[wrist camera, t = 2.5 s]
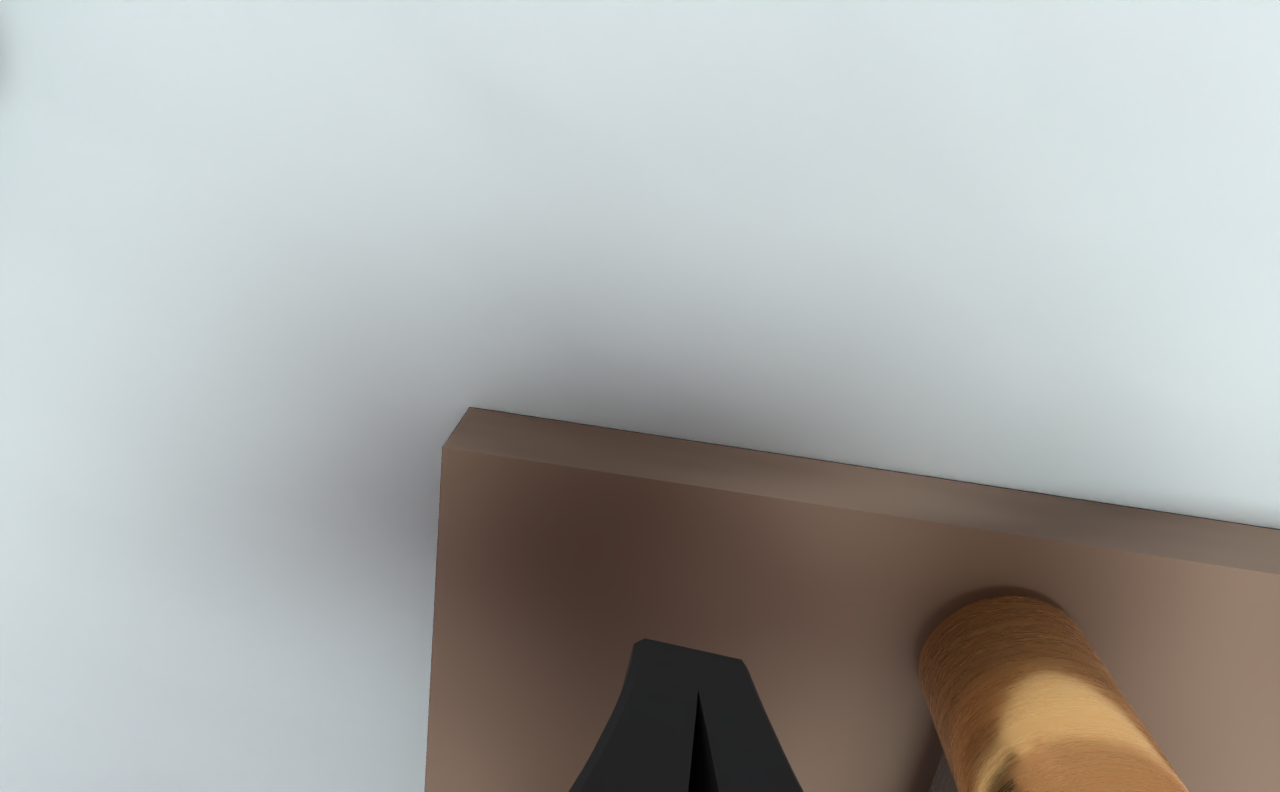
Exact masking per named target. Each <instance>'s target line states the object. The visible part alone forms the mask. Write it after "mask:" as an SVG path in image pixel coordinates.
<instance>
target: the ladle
mask: <svg viewBox="0 0 1280 792" xmlns="http://www.w3.org/2000/svg"><path fill="white" fill-rule="evenodd" d="M918 676H919V681H920V685H921V688H922V691H923V694H924V697H925V700H926V702H927V705H928V708H929V711H930V714H931V717H932V719H933V722H934V725H935V728H936V731H937V734H938V736H939V739H940V742H941V745H942V748H943V753H942V756H941V759H940V762H939V765H938V768H937V770H936V773H935V776H934V779H933V782H932V785H931V788H930V790H929V792H1189V791H1188V789H1187V788H1186V786H1185V785H1184V783H1183V782H1182V780H1181V779H1180V777H1179V776H1178V774H1177V773H1176V771H1175V770H1174V768H1173V767H1172V765H1171V764H1170V762H1169V761H1168V759H1167V758H1166V756H1165V755H1164V754H1163V752H1162V751H1161V749H1160V748H1159V746H1158V745H1157V743H1156V742H1155V740H1154V739H1153V737H1152V736H1151V734H1150V733H1149V731H1148V730H1147V728H1146V727H1145V725H1144V724H1143V722H1142V721H1141V719H1140V718H1139V716H1138V715H1137V713H1136V712H1135V710H1134V709H1133V707H1132V706H1131V704H1130V703H1129V701H1128V700H1127V698H1126V697H1125V695H1124V694H1123V692H1122V691H1121V689H1120V688H1119V686H1118V685H1117V683H1116V682H1115V680H1114V679H1113V677H1112V676H1111V674H1110V673H1109V671H1108V670H1107V668H1106V667H1105V666H1104V664H1103V663H1102V661H1101V660H1100V658H1099V657H1098V655H1097V654H1096V652H1095V651H1094V649H1093V648H1092V646H1091V645H1090V643H1089V642H1088V640H1087V639H1086V637H1085V636H1084V634H1083V633H1082V631H1081V630H1080V628H1079V627H1078V626H1077V624H1076V623H1075V622H1074V621H1073V619H1072V618H1070V617H1069V616H1068V615H1067V614H1066V613H1065V612H1063V611H1062V610H1060V609H1059V608H1057V607H1055V606H1053V605H1051V604H1049V603H1046V602H1044V601H1041V600H1038V599H1033V598H1028V597H1020V596H1002V597H993V598H989V599H984V600H980V601H977V602H974V603H971V604H969V605H967V606H965V607H963V608H960V609H959V610H957V611H955V612H954V613H952V614H950V615H949V616H948V617H947V618H945V619H944V620H943V621H942V622H941V623H940V624H939V625H938V626H937V627H936V628H935V629H934V630H933V631H932V632H931V634H930V635H929V636H928V638H927V640H926V642H925V643H924V645H923V648H922V650H921V653H920V657H919V662H918Z"/></svg>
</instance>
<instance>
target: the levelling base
mask: <svg viewBox="0 0 1280 792" xmlns="http://www.w3.org/2000/svg"><path fill="white" fill-rule="evenodd" d="M1002 596H1020V597H1028V598H1033V599H1038V600H1041V601H1044V602H1046V603H1049V604H1051V605H1053V606H1055V607H1057V608H1059V609H1060V610H1062V611H1063V612H1065V613H1066V614H1067V615H1068V616H1069V617H1070V618H1072V619H1073V621H1074V622H1075V623H1076V624H1077V626H1078V627H1079V628H1080V630H1081V631H1082V633H1083V634H1084V636H1085V637H1086V639H1087V640H1088V642H1089V643H1090V645H1091V646H1092V648H1093V649H1094V651H1095V652H1096V654H1097V655H1098V657H1099V658H1100V660H1101V661H1102V663H1103V664H1104V666H1105V667H1106V668H1107V670H1108V671H1109V673H1110V674H1111V676H1112V677H1113V679H1114V680H1115V682H1116V683H1117V685H1118V686H1119V688H1120V689H1121V691H1122V692H1123V694H1124V695H1125V697H1126V698H1127V700H1128V701H1129V703H1130V704H1131V706H1132V707H1133V709H1134V710H1135V712H1136V713H1137V715H1138V716H1139V718H1140V719H1141V721H1142V722H1143V724H1144V725H1145V727H1146V728H1147V730H1148V731H1149V733H1150V734H1151V736H1152V737H1153V739H1154V740H1155V742H1156V743H1157V745H1158V746H1159V748H1160V749H1161V751H1162V752H1163V754H1164V755H1165V756H1166V758H1167V759H1168V761H1169V762H1170V764H1171V765H1172V767H1173V768H1174V770H1175V771H1176V773H1177V774H1178V776H1179V777H1180V779H1181V780H1182V782H1183V783H1184V785H1185V786H1186V788H1187V789H1188V791H1189V792H1280V530H1276V529H1269V528H1263V527H1256V526H1249V525H1243V524H1236V523H1230V522H1223V521H1216V520H1210V519H1203V518H1197V517H1190V516H1183V515H1177V514H1170V513H1164V512H1157V511H1150V510H1144V509H1137V508H1131V507H1124V506H1117V505H1111V504H1104V503H1098V502H1091V501H1084V500H1078V499H1071V498H1065V497H1058V496H1051V495H1045V494H1038V493H1032V492H1025V491H1018V490H1012V489H1005V488H998V487H992V486H985V485H979V484H972V483H965V482H959V481H952V480H946V479H939V478H932V477H926V476H919V475H913V474H906V473H899V472H893V471H886V470H880V469H873V468H866V467H860V466H853V465H847V464H840V463H833V462H827V461H820V460H814V459H807V458H800V457H794V456H787V455H781V454H774V453H767V452H761V451H754V450H748V449H741V448H734V447H728V446H721V445H715V444H708V443H701V442H695V441H688V440H682V439H675V438H668V437H662V436H655V435H649V434H642V433H635V432H629V431H622V430H615V429H609V428H602V427H596V426H589V425H582V424H576V423H569V422H563V421H556V420H549V419H543V418H536V417H530V416H523V415H516V414H510V413H503V412H497V411H490V410H483V409H477V408H470V407H469V409H468V410H467V412H466V413H465V415H464V416H463V418H462V419H461V421H460V422H459V423H458V425H457V426H456V428H455V429H454V431H453V432H452V434H451V435H450V437H449V438H448V440H447V441H446V443H445V444H444V446H443V447H442V465H441V485H440V504H439V524H438V543H437V562H436V582H435V601H434V620H433V640H432V659H431V678H430V698H429V717H428V736H427V756H426V775H425V792H569V790H570V789H571V787H572V785H573V784H574V782H575V781H576V779H577V777H578V776H579V774H580V772H581V771H582V769H583V768H584V766H585V764H586V762H587V761H588V759H589V757H590V755H591V753H592V752H593V750H594V748H595V746H596V744H597V742H598V740H599V738H600V736H601V734H602V732H603V730H604V728H605V726H606V724H607V722H608V720H609V718H610V717H611V715H612V712H613V710H614V708H615V706H616V703H617V701H618V698H619V696H620V694H621V691H622V687H623V683H624V679H625V676H626V672H627V668H628V664H629V660H630V656H631V652H632V648H633V645H634V643H636V642H638V641H640V640H642V639H644V638H646V639H651V640H655V641H660V642H664V643H669V644H673V645H678V646H683V647H687V648H692V649H696V650H701V651H705V652H710V653H714V654H719V655H724V656H728V657H733V658H737V659H742V661H743V662H744V664H745V665H746V667H747V669H748V671H749V673H750V676H751V678H752V681H753V683H754V685H755V688H756V690H757V693H758V695H759V697H760V700H761V702H762V704H763V707H764V709H765V711H766V714H767V716H768V718H769V720H770V723H771V725H772V727H773V729H774V731H775V734H776V736H777V738H778V740H779V742H780V745H781V747H782V749H783V751H784V753H785V755H786V757H787V759H788V761H789V764H790V766H791V768H792V770H793V772H794V774H795V776H796V778H797V780H798V782H799V784H800V785H801V787H802V789H803V791H804V792H929V790H930V788H931V785H932V782H933V779H934V776H935V773H936V770H937V768H938V765H939V762H940V759H941V756H942V753H943V748H942V745H941V742H940V739H939V736H938V734H937V731H936V728H935V725H934V722H933V719H932V717H931V714H930V711H929V708H928V705H927V702H926V700H925V697H924V694H923V691H922V688H921V685H920V681H919V676H918V662H919V657H920V653H921V650H922V648H923V645H924V643H925V642H926V640H927V638H928V636H929V635H930V634H931V632H932V631H933V630H934V629H935V628H936V627H937V626H938V625H939V624H940V623H941V622H942V621H943V620H944V619H945V618H947V617H948V616H949V615H950V614H952V613H954V612H955V611H957V610H959V609H960V608H963V607H965V606H967V605H969V604H971V603H974V602H977V601H980V600H984V599H989V598H993V597H1002Z"/></svg>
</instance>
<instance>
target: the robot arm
mask: <svg viewBox="0 0 1280 792" xmlns="http://www.w3.org/2000/svg"><path fill="white" fill-rule="evenodd" d="M569 792H804V791H803V789H802V787H801V785H800V784H799V782H798V780H797V778H796V776H795V774H794V772H793V770H792V768H791V766H790V764H789V761H788V759H787V757H786V755H785V753H784V751H783V749H782V747H781V745H780V742H779V740H778V738H777V736H776V734H775V731H774V729H773V727H772V725H771V723H770V720H769V718H768V716H767V714H766V711H765V709H764V707H763V704H762V702H761V700H760V697H759V695H758V693H757V690H756V688H755V685H754V683H753V681H752V678H751V676H750V673H749V671H748V669H747V667H746V665H745V664H744V662H743V661H742V659H737V658H733V657H728V656H724V655H719V654H714V653H710V652H705V651H701V650H696V649H692V648H687V647H683V646H678V645H673V644H669V643H664V642H660V641H655V640H651V639H646V638H644V639H642V640H640V641H638V642H636V643H634V645H633V648H632V652H631V656H630V660H629V664H628V668H627V672H626V676H625V679H624V683H623V687H622V691H621V694H620V696H619V698H618V701H617V703H616V706H615V708H614V710H613V712H612V715H611V717H610V718H609V720H608V722H607V724H606V726H605V728H604V730H603V732H602V734H601V736H600V738H599V740H598V742H597V744H596V746H595V748H594V750H593V752H592V753H591V755H590V757H589V759H588V761H587V762H586V764H585V766H584V768H583V769H582V771H581V772H580V774H579V776H578V777H577V779H576V781H575V782H574V784H573V785H572V787H571V789H570V790H569Z"/></svg>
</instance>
